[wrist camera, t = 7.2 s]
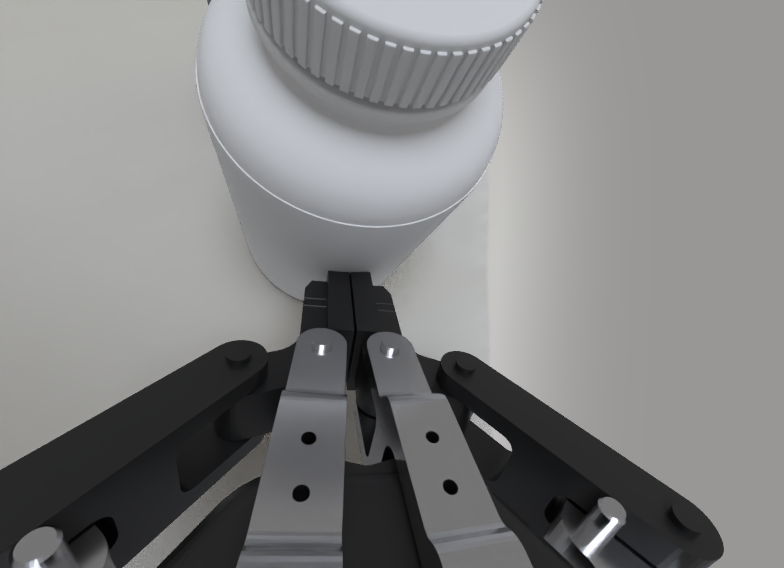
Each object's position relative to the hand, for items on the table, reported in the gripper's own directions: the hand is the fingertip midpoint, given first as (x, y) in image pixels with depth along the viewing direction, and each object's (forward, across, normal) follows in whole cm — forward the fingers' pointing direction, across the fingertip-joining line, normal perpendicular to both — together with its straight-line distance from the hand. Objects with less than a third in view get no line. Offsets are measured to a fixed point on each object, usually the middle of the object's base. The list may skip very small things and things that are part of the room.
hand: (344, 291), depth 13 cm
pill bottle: (+7, 0, +1) cm, 8 cm away
